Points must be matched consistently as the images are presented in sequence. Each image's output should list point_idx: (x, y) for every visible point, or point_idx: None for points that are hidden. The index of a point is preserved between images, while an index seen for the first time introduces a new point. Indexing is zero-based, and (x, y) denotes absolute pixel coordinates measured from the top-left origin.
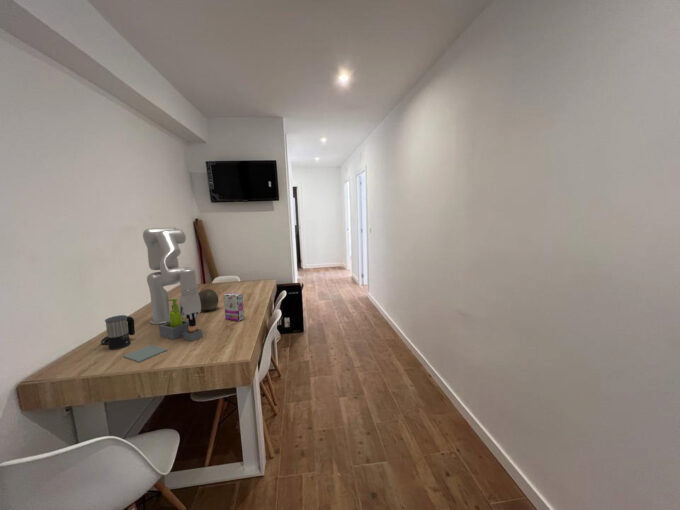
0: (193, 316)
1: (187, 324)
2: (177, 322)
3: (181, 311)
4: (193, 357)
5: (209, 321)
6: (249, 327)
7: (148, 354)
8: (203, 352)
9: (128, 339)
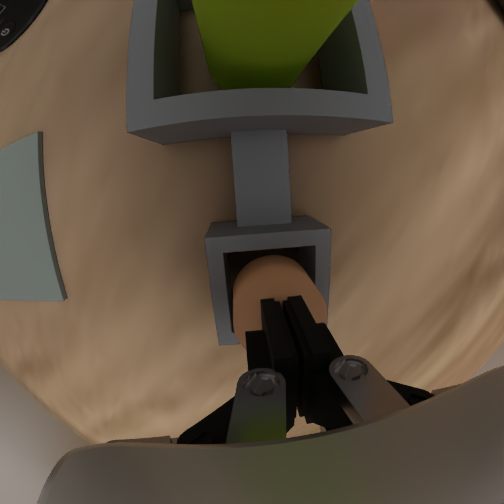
0: (327, 424)
1: (334, 119)
2: (240, 42)
3: (102, 496)
4: None
5: (481, 98)
6: (458, 371)
7: (2, 268)
8: None
9: (12, 16)
